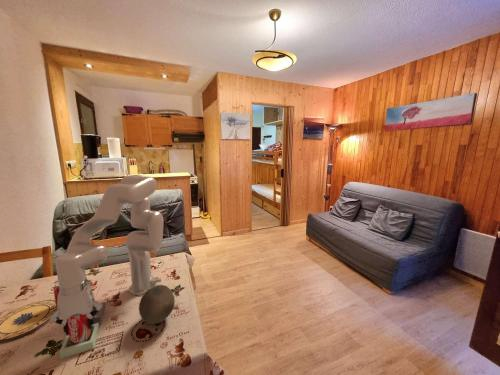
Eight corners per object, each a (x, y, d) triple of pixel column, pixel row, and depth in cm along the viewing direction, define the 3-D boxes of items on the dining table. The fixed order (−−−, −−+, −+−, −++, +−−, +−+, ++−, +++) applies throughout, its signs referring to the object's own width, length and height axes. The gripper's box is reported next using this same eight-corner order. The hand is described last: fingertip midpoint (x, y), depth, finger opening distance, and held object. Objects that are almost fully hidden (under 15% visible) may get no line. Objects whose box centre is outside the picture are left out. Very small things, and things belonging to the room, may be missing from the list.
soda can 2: (94, 336, 81) (91, 308, 79) (74, 349, 76) (71, 319, 74) (86, 329, 84) (83, 302, 82) (66, 340, 79) (63, 312, 77)
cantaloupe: (136, 337, 83) (133, 303, 80) (144, 311, 96) (141, 281, 94) (174, 329, 87) (172, 297, 84) (176, 305, 100) (175, 276, 98)
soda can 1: (64, 312, 95) (61, 288, 93) (52, 309, 96) (48, 285, 94) (80, 301, 102) (76, 278, 100) (68, 299, 103) (64, 276, 101)
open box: (105, 307, 98) (104, 302, 97) (93, 348, 78) (92, 341, 77) (79, 314, 94) (79, 308, 93) (60, 358, 74) (59, 351, 73)
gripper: (104, 275, 83) (108, 315, 86) (47, 286, 76) (54, 329, 79) (100, 286, 76) (105, 329, 80) (37, 299, 69) (45, 346, 72)
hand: (80, 328), depth 79 cm, fingers closed on soda can 2, 6 cm apart
